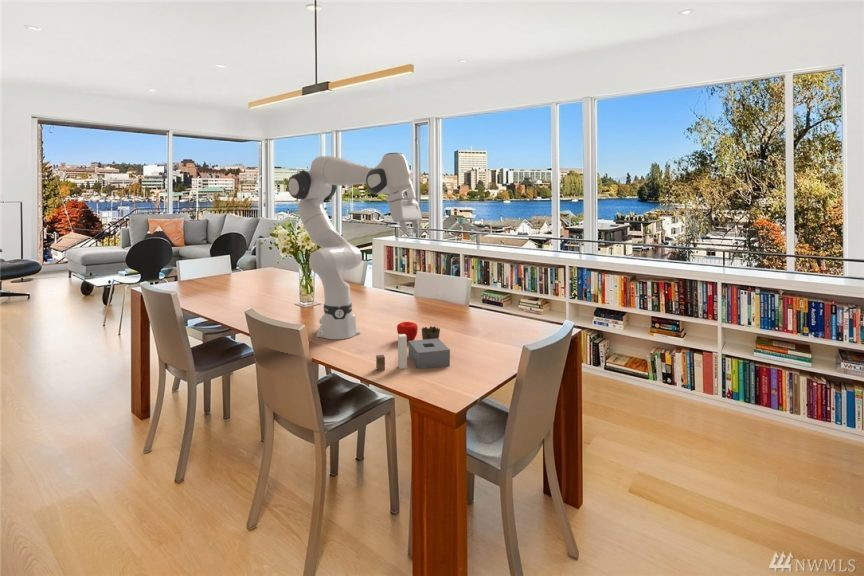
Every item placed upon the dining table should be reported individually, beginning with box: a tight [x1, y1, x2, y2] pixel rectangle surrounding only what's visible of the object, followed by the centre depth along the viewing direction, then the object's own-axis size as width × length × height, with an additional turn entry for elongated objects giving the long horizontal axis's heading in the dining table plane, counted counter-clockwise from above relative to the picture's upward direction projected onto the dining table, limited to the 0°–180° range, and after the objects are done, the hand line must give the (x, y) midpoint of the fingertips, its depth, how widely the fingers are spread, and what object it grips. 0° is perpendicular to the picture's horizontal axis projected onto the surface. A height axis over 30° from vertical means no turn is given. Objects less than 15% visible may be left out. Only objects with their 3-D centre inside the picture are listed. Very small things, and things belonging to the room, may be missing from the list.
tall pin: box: [397, 334, 408, 370], centre depth 170 cm, size 3×3×12 cm
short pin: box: [375, 354, 386, 372], centre depth 168 cm, size 3×3×5 cm
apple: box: [396, 321, 419, 343], centre depth 200 cm, size 9×9×8 cm
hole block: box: [408, 338, 451, 370], centre depth 177 cm, size 14×12×6 cm
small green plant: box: [421, 325, 441, 340], centre depth 191 cm, size 8×7×8 cm
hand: (411, 233), depth 174 cm, fingers open, 8 cm apart
